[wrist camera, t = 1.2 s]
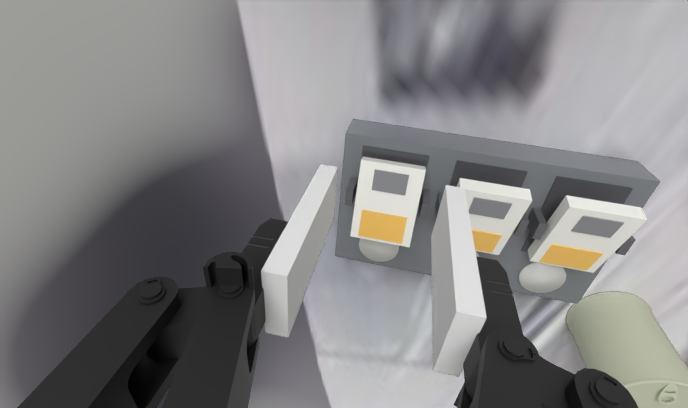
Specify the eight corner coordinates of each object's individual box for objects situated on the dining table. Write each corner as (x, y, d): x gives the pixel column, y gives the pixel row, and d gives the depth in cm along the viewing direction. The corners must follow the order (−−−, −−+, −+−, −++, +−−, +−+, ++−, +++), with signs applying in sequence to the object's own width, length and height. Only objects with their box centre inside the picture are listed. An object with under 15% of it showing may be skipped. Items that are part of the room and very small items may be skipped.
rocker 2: (566, 195, 30) (570, 207, 29) (641, 207, 30) (648, 220, 29) (527, 249, 36) (529, 261, 35) (589, 261, 35) (593, 273, 34)
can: (663, 295, 42) (737, 395, 32) (634, 344, 46) (689, 443, 37) (577, 287, 43) (621, 379, 34) (557, 335, 48) (590, 427, 38)
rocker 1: (363, 156, 34) (360, 159, 33) (425, 166, 33) (425, 170, 32) (352, 230, 37) (349, 236, 36) (409, 241, 36) (409, 248, 35)
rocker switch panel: (353, 118, 37) (339, 144, 32) (637, 161, 34) (679, 198, 28) (341, 235, 46) (329, 271, 41) (565, 278, 43) (586, 324, 37)
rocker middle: (459, 177, 31) (459, 189, 30) (529, 189, 31) (532, 201, 30) (439, 233, 37) (438, 244, 36) (497, 244, 36) (498, 256, 35)
